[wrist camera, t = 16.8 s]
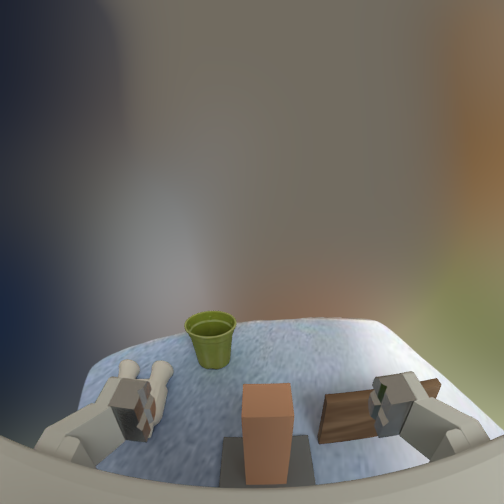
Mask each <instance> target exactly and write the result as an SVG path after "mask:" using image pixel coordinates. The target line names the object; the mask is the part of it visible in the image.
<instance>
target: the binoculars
mask: <svg viewBox="0 0 504 504" xmlns="http://www.w3.org/2000/svg"><path fill="white" fill-rule="evenodd" d="M139 372H140V368H139V366H138V364H137V363H136V362H134V361H132V360H128V359H127V360H123V361H121V363H120V364H119V375H118V377H119V378H128V379H135V380H143V381H148V382H150V385H151V388H152V390H151V392H150V394H151V395H152V396H153V397H154V399H155V403H156V414H155V418H154V421H153V422H152V423H150V424H149V426H150V429H151V431H150V434H149V437H148V438H150V437H151V436H152V432H153V428H154V426H155V425H157V424H158V423H159V422H160V420H161V419H162V416H163V411H164V406H165V402H166V397H167V393H168V390H167V388H166V384H167V382H168V380H169V379H170V378H171V377H172V375H173V368H172V366H171V365H170V364H169V363H167V362H165V361H156V362H155V363H154V364H153V365H152V372H151V376H150V379H136V377H137V376H138V374H139Z"/></svg>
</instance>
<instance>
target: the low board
mask: <svg viewBox="0 0 504 504" xmlns="http://www.w3.org/2000/svg"><path fill="white" fill-rule="evenodd" d="M420 383H421V385H422V386H423V388H424V390H425V391H426V393H427V395H428V396H429V398H431V397H433V398H435V399H436V397H437V394H438V392H439V390H440V387H441V383H440V382H439V380H438V379H437V378H435V379H430V380H425V381H420ZM373 390H374V389H371V390H363V391H355V392H346V393H336V394H325V399H324V404H323V410H322V416H321V421H320V426H319V431H318V441H319V444H325V443H334V442H342V441H350V440H357V439H363V438H369V437H375V436H378V435H377V432H376V429H375V427H374V424H375V421H376V420H375V419H373V418H372V417H371V416H370V413H369V409H368V400H369V395H370V393H371V392H372V391H373Z"/></svg>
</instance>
